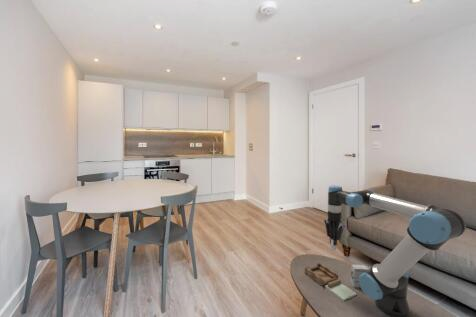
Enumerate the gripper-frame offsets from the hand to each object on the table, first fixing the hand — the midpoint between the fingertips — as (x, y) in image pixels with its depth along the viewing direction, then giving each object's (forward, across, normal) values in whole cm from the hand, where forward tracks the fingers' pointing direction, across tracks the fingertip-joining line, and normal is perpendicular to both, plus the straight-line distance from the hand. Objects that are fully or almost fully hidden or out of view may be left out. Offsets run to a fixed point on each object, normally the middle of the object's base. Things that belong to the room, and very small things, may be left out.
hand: (333, 249), depth 134 cm
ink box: (+21, -9, -13) cm, 27 cm away
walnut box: (+21, +7, +2) cm, 22 cm away
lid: (+22, -7, +2) cm, 23 cm away
